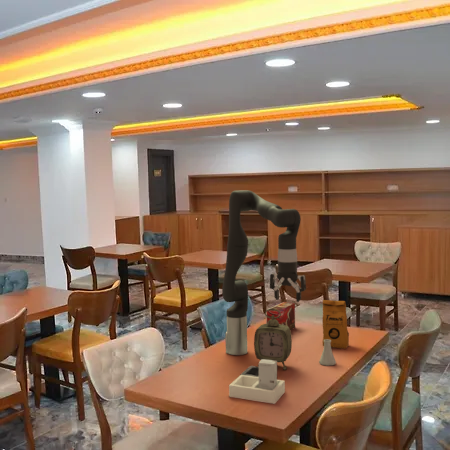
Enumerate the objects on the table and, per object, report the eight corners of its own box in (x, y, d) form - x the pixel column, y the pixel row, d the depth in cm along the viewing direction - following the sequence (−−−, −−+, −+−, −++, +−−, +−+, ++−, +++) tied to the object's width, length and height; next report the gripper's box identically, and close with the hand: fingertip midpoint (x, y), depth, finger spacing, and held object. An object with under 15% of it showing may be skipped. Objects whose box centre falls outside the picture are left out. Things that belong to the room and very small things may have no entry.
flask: (336, 366, 224) (336, 343, 223) (318, 365, 225) (318, 342, 224) (336, 360, 231) (335, 338, 230) (319, 360, 232) (318, 337, 231)
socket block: (240, 383, 208) (240, 374, 207) (250, 373, 218) (250, 365, 217) (264, 386, 203) (264, 378, 203) (273, 377, 213) (273, 368, 213)
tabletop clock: (254, 368, 224) (253, 310, 222) (260, 361, 232) (259, 305, 230) (288, 372, 219) (287, 312, 217) (293, 364, 227) (292, 307, 225)
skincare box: (258, 395, 194) (257, 362, 193) (261, 390, 198) (260, 358, 197) (274, 397, 192) (274, 364, 191) (277, 392, 196) (277, 360, 195)
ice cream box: (284, 326, 288) (283, 302, 286) (295, 327, 284) (294, 303, 283) (266, 335, 271) (266, 310, 270) (277, 337, 267) (277, 311, 266)
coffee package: (347, 350, 244) (346, 303, 242) (320, 348, 248) (319, 301, 247) (350, 344, 253) (350, 299, 251) (324, 342, 258) (324, 297, 256)
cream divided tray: (229, 396, 195) (228, 385, 195) (241, 385, 205) (241, 374, 205) (274, 403, 188) (274, 392, 187) (284, 391, 198) (284, 380, 198)
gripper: (266, 260, 209) (267, 301, 210) (302, 262, 202) (302, 304, 204) (273, 257, 215) (274, 297, 217) (307, 259, 209) (308, 300, 211)
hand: (287, 300), depth 210 cm, fingers open, 8 cm apart
